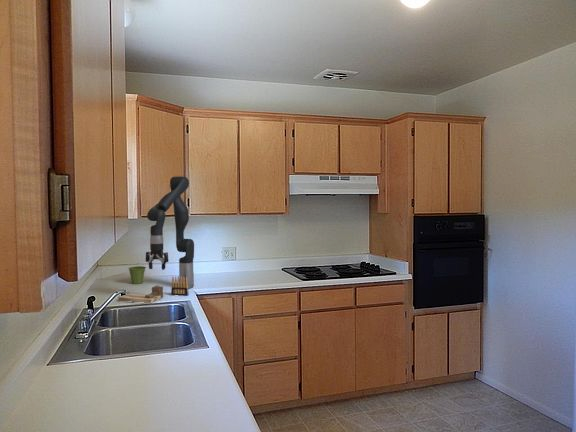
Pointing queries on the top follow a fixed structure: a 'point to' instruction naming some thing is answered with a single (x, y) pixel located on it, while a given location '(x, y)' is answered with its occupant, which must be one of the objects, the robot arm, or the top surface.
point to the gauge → (155, 292)
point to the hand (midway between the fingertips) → (157, 269)
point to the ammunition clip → (179, 287)
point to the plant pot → (137, 274)
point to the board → (138, 298)
